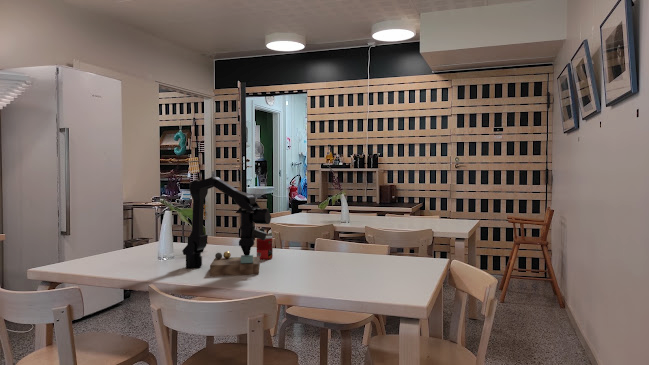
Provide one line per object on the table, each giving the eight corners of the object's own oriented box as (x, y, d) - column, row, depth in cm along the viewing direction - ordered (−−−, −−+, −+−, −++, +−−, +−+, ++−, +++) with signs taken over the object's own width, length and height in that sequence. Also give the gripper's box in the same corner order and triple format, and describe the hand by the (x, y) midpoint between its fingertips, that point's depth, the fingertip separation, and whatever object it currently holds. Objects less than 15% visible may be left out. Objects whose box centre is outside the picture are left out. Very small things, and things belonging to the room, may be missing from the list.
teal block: (240, 263, 196) (240, 257, 196) (241, 261, 201) (241, 255, 201) (252, 262, 196) (252, 257, 196) (253, 260, 201) (253, 255, 201)
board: (210, 275, 193) (210, 265, 193) (215, 267, 211) (215, 257, 211) (258, 274, 195) (258, 264, 195) (259, 266, 213) (259, 256, 213)
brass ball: (223, 259, 207) (222, 252, 207) (223, 258, 210) (223, 250, 210) (230, 259, 208) (230, 251, 208) (230, 257, 211) (230, 250, 211)
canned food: (271, 259, 229) (271, 237, 229) (255, 260, 230) (255, 237, 229) (273, 257, 237) (273, 235, 237) (257, 257, 237) (257, 235, 237)
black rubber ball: (214, 260, 205) (214, 253, 205) (215, 258, 208) (215, 252, 208) (221, 259, 206) (221, 253, 206) (222, 258, 209) (222, 251, 209)
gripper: (265, 225, 194) (265, 262, 194) (266, 221, 212) (266, 255, 213) (238, 226, 193) (238, 263, 193) (241, 221, 211) (241, 255, 211)
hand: (247, 259), depth 203 cm, fingers closed
